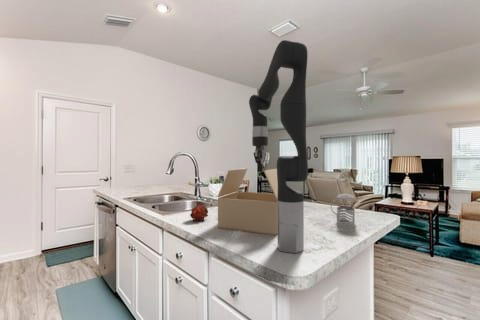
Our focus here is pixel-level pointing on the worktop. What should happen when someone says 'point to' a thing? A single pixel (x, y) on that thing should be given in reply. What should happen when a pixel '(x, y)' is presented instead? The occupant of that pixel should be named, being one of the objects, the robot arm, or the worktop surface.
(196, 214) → the dragon fruit
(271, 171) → the flap right
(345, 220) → the french press
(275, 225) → the carton
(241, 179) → the flap left
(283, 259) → the worktop surface
